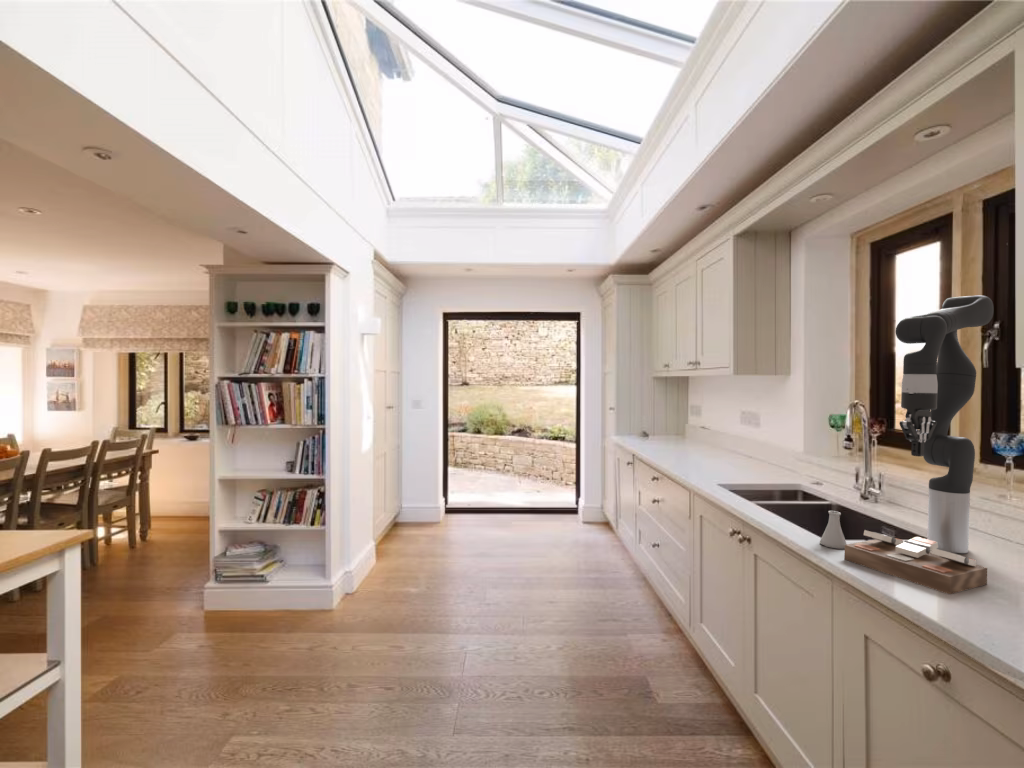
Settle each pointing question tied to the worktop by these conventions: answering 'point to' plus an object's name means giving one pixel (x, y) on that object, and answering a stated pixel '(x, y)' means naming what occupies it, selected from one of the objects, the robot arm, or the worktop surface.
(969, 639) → the worktop surface
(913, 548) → the rocker
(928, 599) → the worktop surface
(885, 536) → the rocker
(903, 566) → the switch unit
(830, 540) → the flask
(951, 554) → the rocker
